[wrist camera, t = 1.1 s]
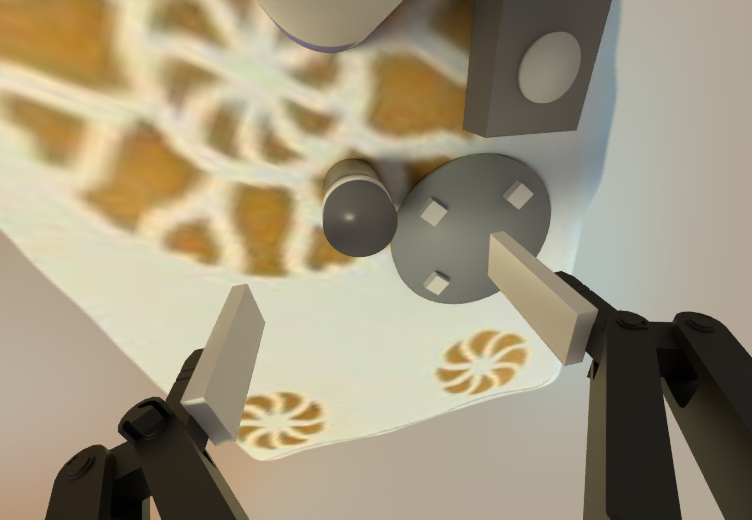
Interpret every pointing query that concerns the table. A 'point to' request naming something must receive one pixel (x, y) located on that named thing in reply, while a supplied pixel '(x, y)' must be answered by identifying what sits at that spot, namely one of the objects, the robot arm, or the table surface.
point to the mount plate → (466, 225)
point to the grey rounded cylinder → (357, 209)
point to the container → (328, 20)
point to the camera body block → (531, 64)
